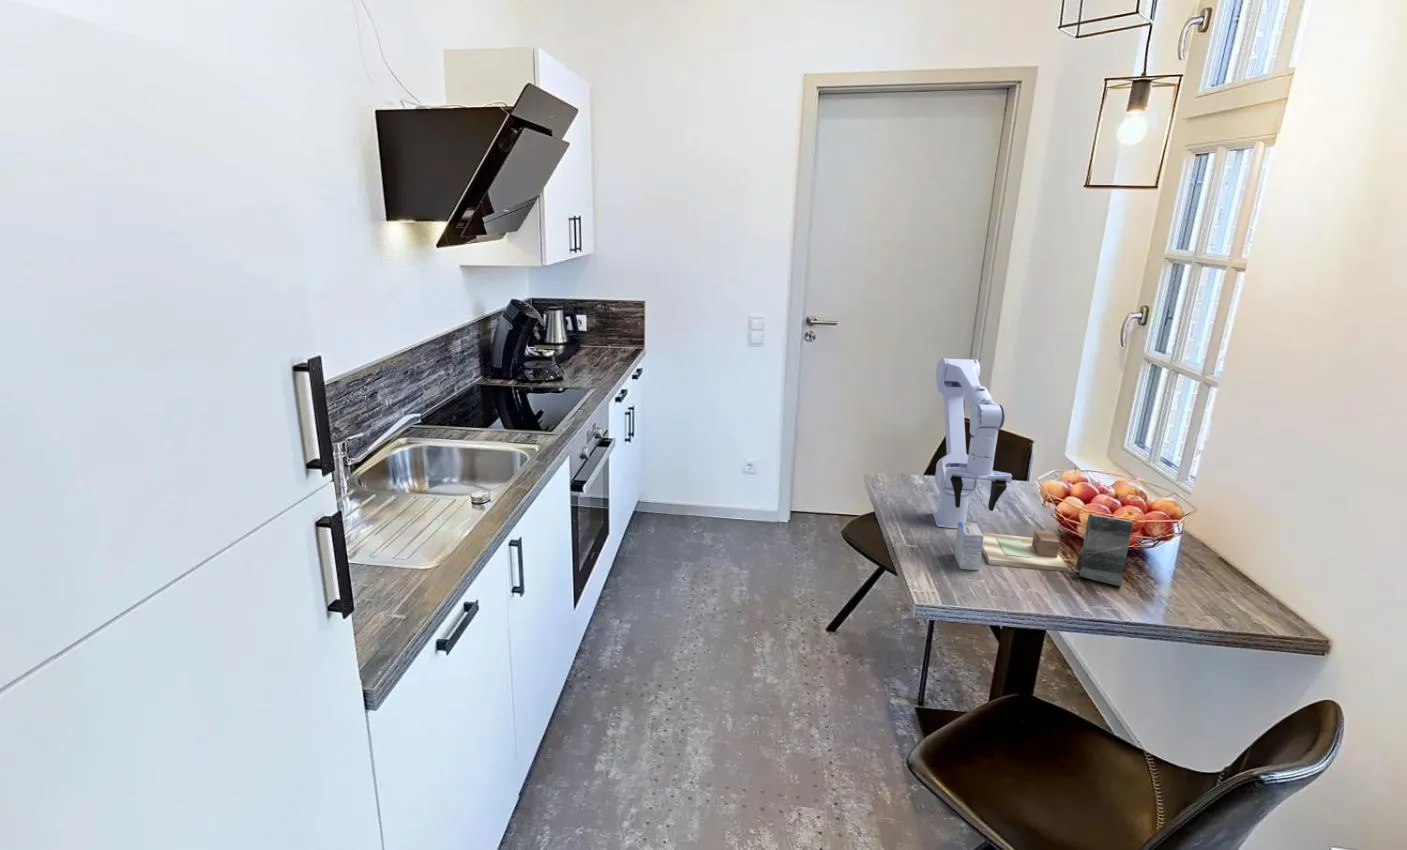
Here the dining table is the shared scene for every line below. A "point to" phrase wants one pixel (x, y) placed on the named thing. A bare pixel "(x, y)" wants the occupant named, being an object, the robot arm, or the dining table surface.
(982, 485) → the dining table surface
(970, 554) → the medicine box
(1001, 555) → the base board
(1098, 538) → the stone block
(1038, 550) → the walnut block
